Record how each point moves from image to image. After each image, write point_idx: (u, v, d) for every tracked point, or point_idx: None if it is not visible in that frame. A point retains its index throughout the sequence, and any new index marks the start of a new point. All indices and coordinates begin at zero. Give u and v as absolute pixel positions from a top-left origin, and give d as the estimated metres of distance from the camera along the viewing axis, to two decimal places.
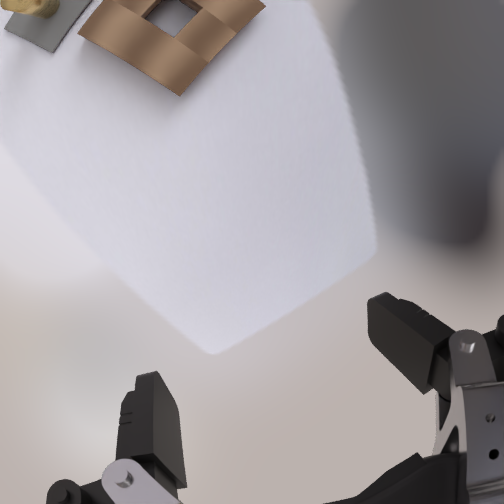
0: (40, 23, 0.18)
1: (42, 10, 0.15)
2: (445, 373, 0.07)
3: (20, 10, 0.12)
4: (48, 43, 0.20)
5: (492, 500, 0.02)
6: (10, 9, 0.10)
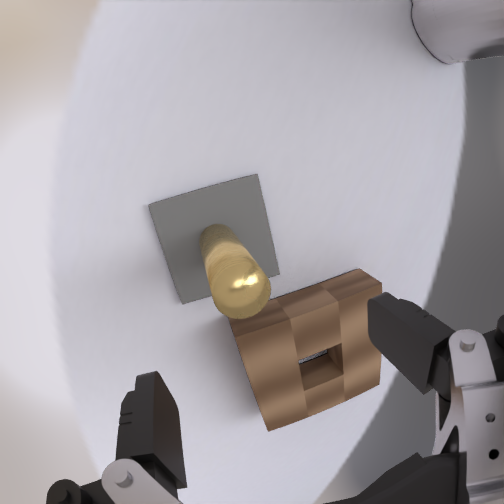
0: (194, 254, 0.24)
1: None
2: (445, 373, 0.07)
3: None
4: (185, 289, 0.25)
5: (492, 500, 0.02)
6: None
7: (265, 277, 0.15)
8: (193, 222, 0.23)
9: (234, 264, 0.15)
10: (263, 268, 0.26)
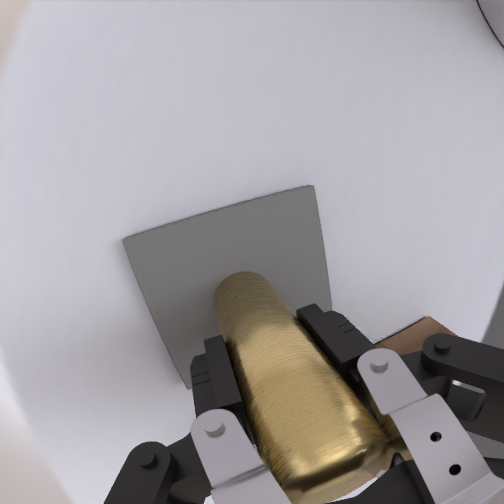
0: (206, 321, 0.14)
1: None
2: (357, 392, 0.07)
3: None
4: None
5: None
6: None
7: None
8: (203, 270, 0.13)
9: (335, 444, 0.05)
10: None
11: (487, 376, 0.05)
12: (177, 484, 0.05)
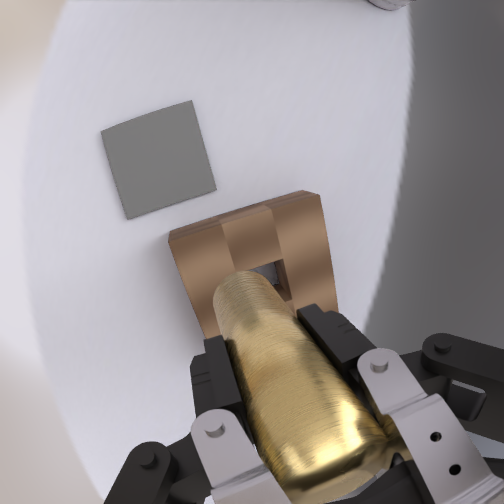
0: (137, 171, 0.25)
1: None
2: (357, 391, 0.07)
3: None
4: (130, 205, 0.26)
5: None
6: None
7: None
8: (136, 143, 0.24)
9: (334, 444, 0.05)
10: (200, 183, 0.27)
11: (487, 376, 0.05)
12: (177, 484, 0.05)
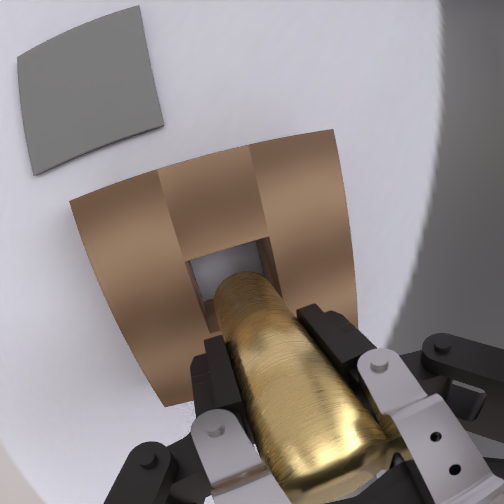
0: (52, 103, 0.13)
1: None
2: (357, 392, 0.07)
3: None
4: (38, 152, 0.14)
5: None
6: None
7: None
8: (56, 65, 0.12)
9: (335, 445, 0.05)
10: (138, 115, 0.15)
11: (487, 376, 0.05)
12: (177, 484, 0.05)
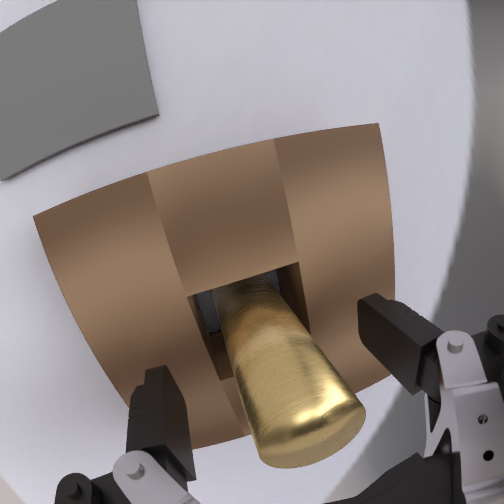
0: (22, 90, 0.09)
1: None
2: (433, 374, 0.07)
3: None
4: (5, 152, 0.10)
5: (489, 501, 0.02)
6: None
7: (360, 408, 0.06)
8: (30, 45, 0.09)
9: (307, 399, 0.06)
10: (126, 102, 0.11)
11: None
12: None
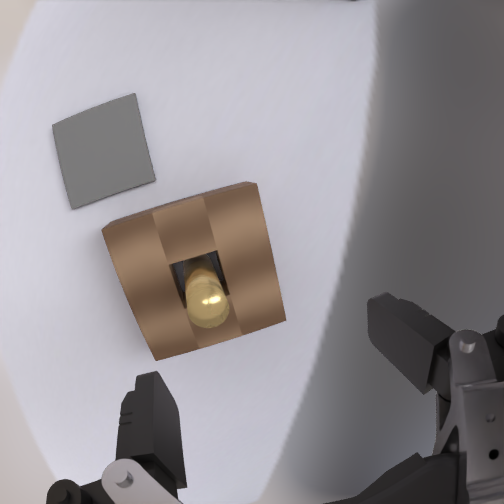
0: (82, 162, 0.24)
1: None
2: (445, 373, 0.07)
3: None
4: (74, 195, 0.24)
5: (492, 500, 0.02)
6: None
7: (224, 299, 0.21)
8: (82, 135, 0.23)
9: (202, 290, 0.20)
10: (139, 174, 0.26)
11: None
12: None
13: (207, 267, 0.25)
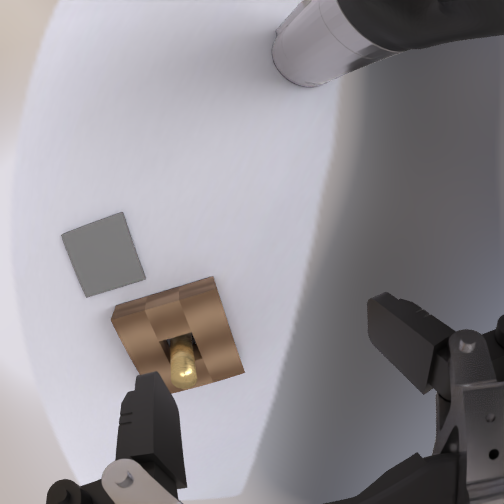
0: (89, 265, 0.34)
1: None
2: (445, 373, 0.07)
3: None
4: (87, 288, 0.34)
5: (492, 500, 0.02)
6: None
7: (193, 373, 0.31)
8: (86, 245, 0.33)
9: (179, 369, 0.30)
10: (133, 275, 0.35)
11: None
12: None
13: (185, 344, 0.35)
